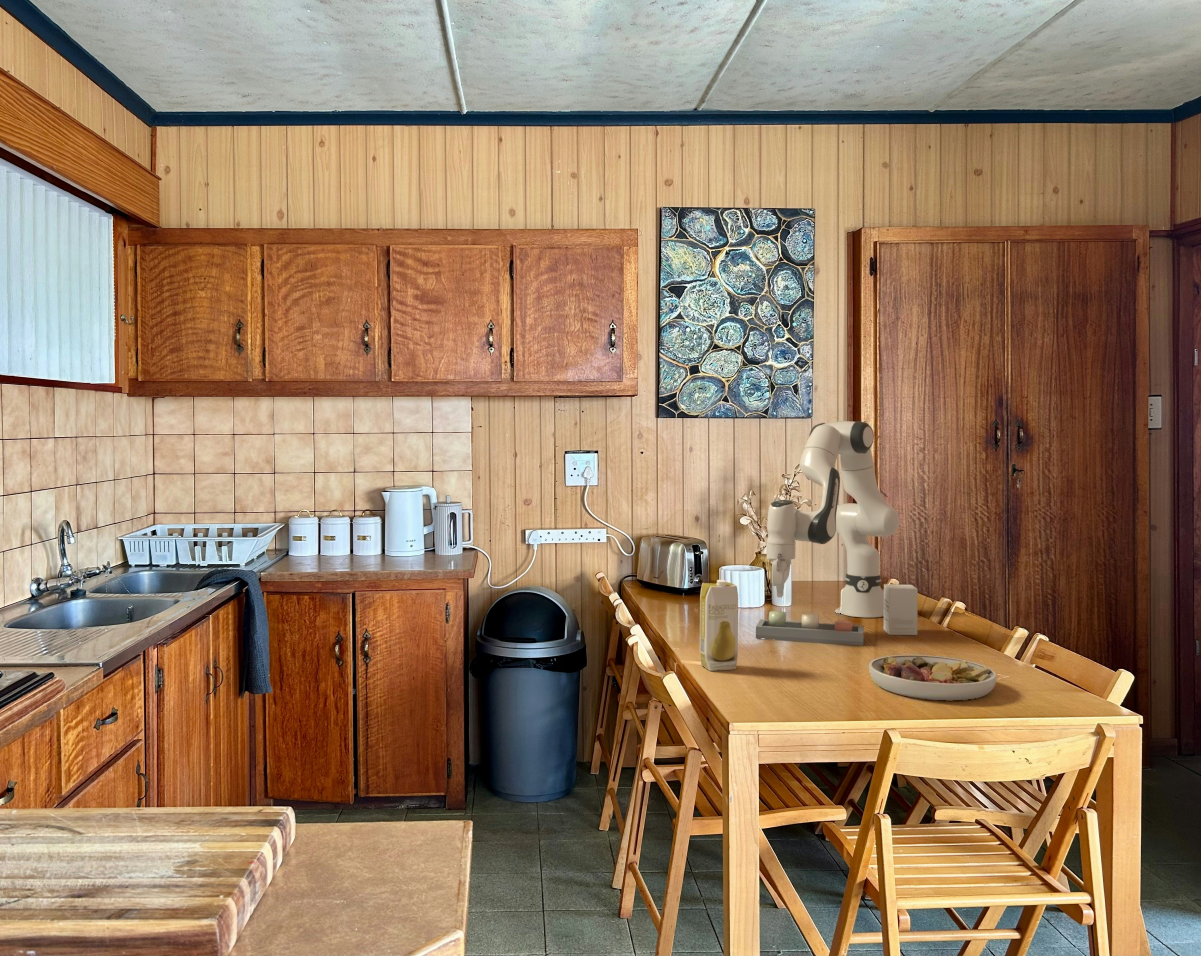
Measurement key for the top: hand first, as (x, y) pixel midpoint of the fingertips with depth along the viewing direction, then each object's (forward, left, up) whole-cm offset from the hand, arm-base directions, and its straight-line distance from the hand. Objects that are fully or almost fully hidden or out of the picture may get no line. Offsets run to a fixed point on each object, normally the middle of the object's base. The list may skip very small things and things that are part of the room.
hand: (780, 596), depth 293 cm
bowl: (+49, +42, -13) cm, 66 cm away
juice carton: (+46, -12, -13) cm, 49 cm away
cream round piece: (0, +9, -9) cm, 13 cm away
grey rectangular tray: (0, +9, -13) cm, 16 cm away
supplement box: (-18, +36, -13) cm, 43 cm away
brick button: (0, +19, -11) cm, 22 cm away
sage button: (0, -1, -9) cm, 9 cm away
